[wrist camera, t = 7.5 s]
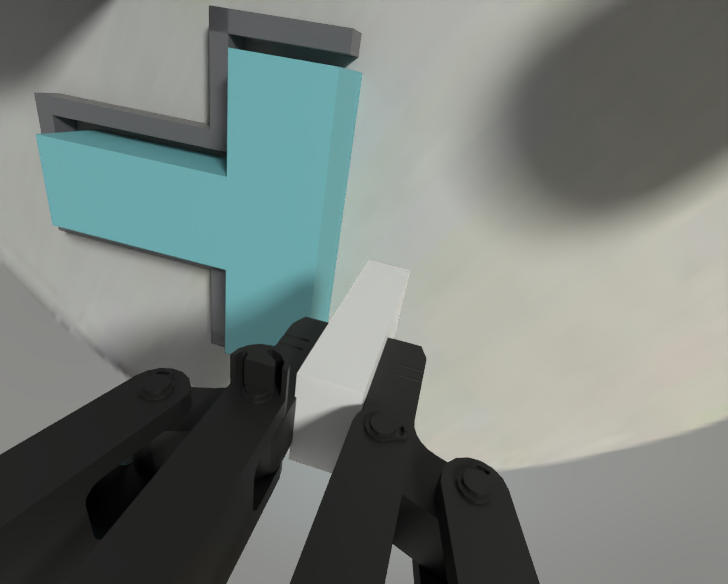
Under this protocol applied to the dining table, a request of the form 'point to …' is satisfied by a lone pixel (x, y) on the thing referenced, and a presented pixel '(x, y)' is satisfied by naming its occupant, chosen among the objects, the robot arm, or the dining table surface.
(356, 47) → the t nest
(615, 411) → the dining table surface
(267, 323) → the t block
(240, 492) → the robot arm
